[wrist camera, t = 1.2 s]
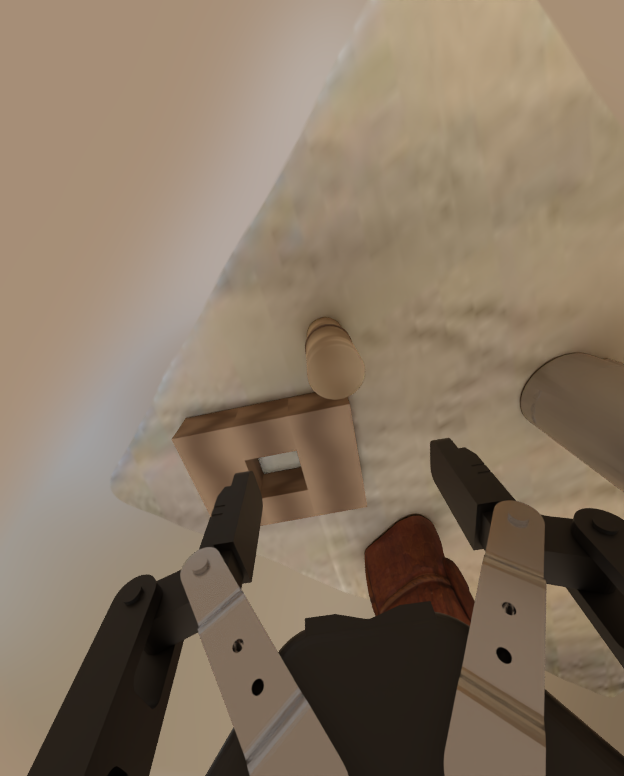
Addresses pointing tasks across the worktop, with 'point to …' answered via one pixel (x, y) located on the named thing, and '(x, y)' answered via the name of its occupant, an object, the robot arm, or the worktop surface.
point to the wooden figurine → (415, 571)
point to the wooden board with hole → (275, 436)
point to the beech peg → (332, 360)
